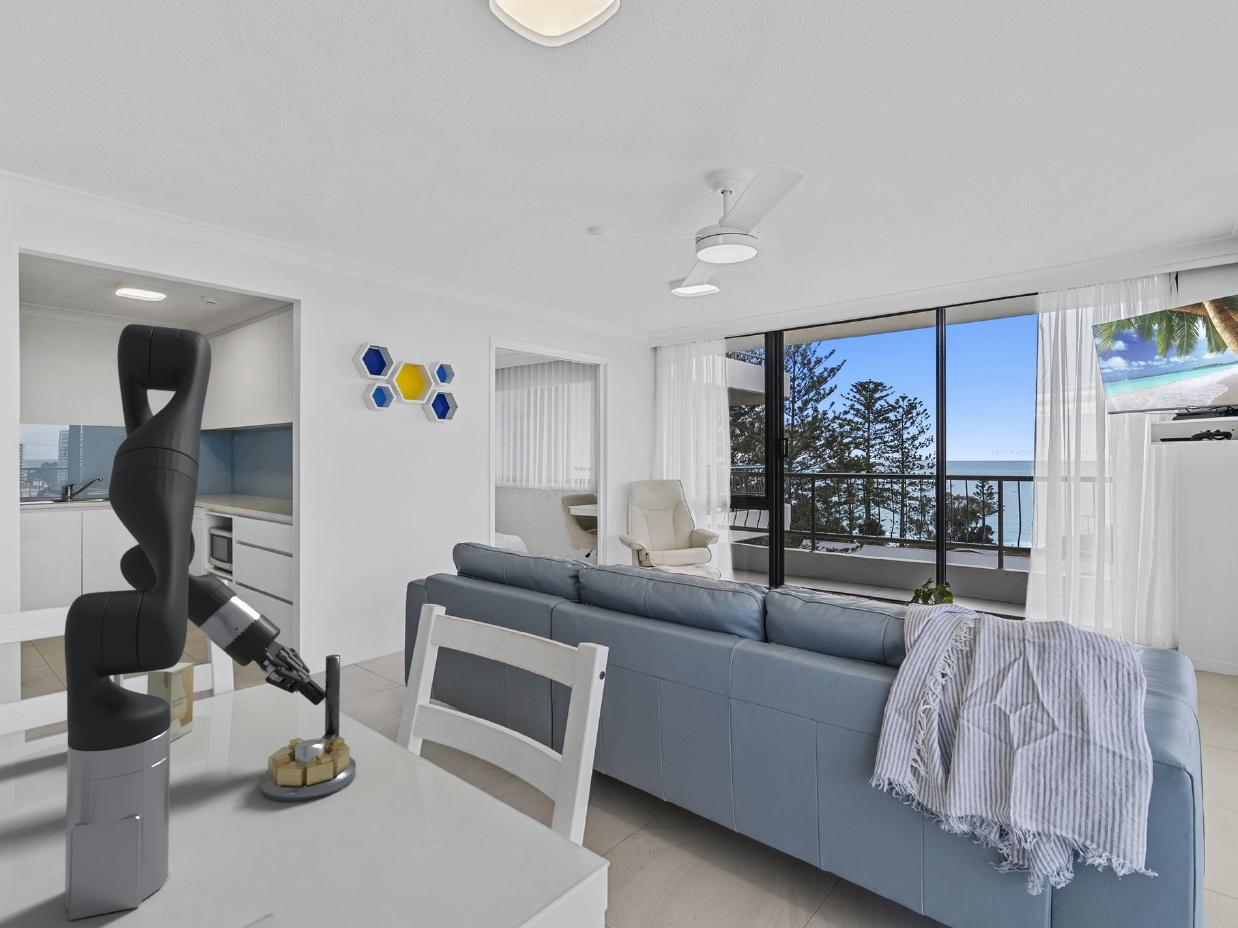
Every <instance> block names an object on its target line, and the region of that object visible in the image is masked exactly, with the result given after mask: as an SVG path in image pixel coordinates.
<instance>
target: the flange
mask: <svg viewBox="0 0 1238 928" xmlns="http://www.w3.org/2000/svg"><path fill="white" fill-rule="evenodd" d="M320 739H321V738H312V739H307V740H304V741H302V742H300V743H298V744H297V745H296V746H295V762H306V763H307V762H310V761H314V760H316V755H319V754H322V753H324V741H323V740H320ZM356 769H357V764H356V761H355V759H354V758H353V757H351V756H350V763H349V766H348V767H347V768H346V769H345V770H344V771H342V772H341V773H340V774H339V775H338V776H333V778H332V779H328V780H325V781H321V782H318V783H314V784H311V785H306V784H303V785H302V786H286V785H277V783H276V784H274V783H273V782H272V780H271V779H270V777H269V776H268V769H267V770H266V771H265V772H264V773H263V774H262V775H261V777H260V794H261V795H262V797H263V798H265V799H266V800H270V801H272V802H276V803H287V804H288V803H290V804H291V803H303V802H308V801H315V800H319V799H321V798H325V797H328V796H330V795H331V796H332V795H333V793H334V794H335V793H338V792H341V791H342V790H343V788H344V789H346V786H347V787H348V786H349V785H350V784H351V783H353V781H354V780H355V778H356V774H357V773H356V771H357V770H356Z"/></svg>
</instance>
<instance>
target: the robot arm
mask: <svg viewBox="0 0 1238 928" xmlns="http://www.w3.org/2000/svg"><path fill="white" fill-rule="evenodd" d="M118 339H119V340H118V345H117V355H116V357H117V371H118V372H117V374H118V380H119V381H118V382H119V391H120V396H121V403H122V414H123V421H124V427H125V433H126V438H125V439H124V441H123V442H121V444H120V445H119V446H118V448H117V450H116V453H115V455H114V458H113V465H112V470H111V475H110V481H109V486H108V499H109V504H110V506H111V508H112V510H113V511H114V514H115V515H116V517H117V518H118V519H119V521H120V522H121V523H122V525H123V526H124V527H125V529H126V530H127V531H128V533H130V535H131V536H132V537H133V538H134V539H135V541H136V542H137V544H136V545H134V546H132V547H131V548H129V549H128V550H126V551H125V553H124V554H122V556H121V558H120V561H119V568H120V572H121V575H122V577H123V578H124V580H125V581H126V582H127V583H128V585H130V586H131V587H132V588H133V589H128V590H127V589H125V590H124V589H123V590H114V591H113V590H112V591H110V590H109V591H98V592H97V591H96V592H88V593H84V594H81V595H78V596H77V597H76V598H75V599H74V601H73V602H72V603H71V605H70V607H69V608H68V612H67V614H66V618H65V625H64V636H63V637H64V659H65V660H64V661H65V662H64V663H65V677H66V679H65V680H66V716H67V717H66V720H67V772H66V808H65V809H66V811H65V812H66V813H65V816H66V819H65V823H66V824H65V858H64V859H65V861H64V862H65V865H64V866H65V868H64V869H65V870H64V871H65V876H64V877H65V878H64V881H65V882H64V885H65V886H64V907H65V909H66V910H67V912H68V914H67V915H68V920H69V921H71V920H77V919H83V918H87V917H93V916H97V915H103V914H108V913H112V912H118V911H125V910H129V909H134V908H138V907H139V906H141V903H142V902H143V901H144V900H145V899H146V898H148V897H150V896H151V895H153V894H154V893H155V892H156V891H158V890H159V889H160V888H162V886H163V885H164V884H165V882H166V881H167V879H168V878H169V853H170V852H169V846H170V845H169V844H170V840H169V838H170V837H169V836H170V824H169V823H170V777H171V776H170V775H171V773H170V772H171V771H170V770H171V766H170V765H171V742H170V730H171V726H170V725H171V710H170V705H169V703H168V702H167V701H166V700H164V699H162V698H160V697H157V696H152V695H147V693H141V692H137V691H133V690H131V689H130V690H129V689H127V688H125V687H124V686H123V687H121V686H119V685H117V684H115V683H114V682H113V681H112V680H111V679H110V677H109V676H111V675H121V674H123V675H129V674H137V673H148V672H149V671H157V670H163V669H168V668H171V667H173V666H175V665H176V664H177V663H180V660H181V658H182V656H183V654H184V650H185V647H186V641H187V633H188V620H189V621H190V622H191V623H193V624H194V625H195V626H196V627H198V628H199V629H200V631H201V632H203V633H204V635H205V636H206V638H208V639H209V640H210V641H211V642H212V643H214V644H215V645H216V646H217V647H218V648H219V649H221V650H222V651H223V652H224V654H226V655H227V656H229V657H230V658H231V659H232V660H234V661H235V662H236V663H237V664H238V665H239V666H241V667H246V666H248V665H249V664H251V663H252V662H253V661H254V662H255V663H256V664H257V666H259V668H260V670H261V672H262V673H264V674H265V675H266V677H265V682H266V683H267V684H270V685H272V686H274V687H275V688H278V689H280V690H283V691H285V692H288V693H290V694H294V693H300V694H301V695H302V696H303V697H304V698H306V699H307V700H308V701H309V702H311V703H312V704H313V705H314V706H319V704H320V703H321V702H322V701H324V700H325V689H323V687H321V686H320V685H319V684H318V683H317V682H315V681H314V680H313V679H312V676H311V674H310V672H311V671H310V669H309V667H308V666H307V665H306V664H305V662H304V660H303V659H302V658H301V657H300V655H299V654H298V651H296V649H295V648H294V647H293V648H292V647H290V648H288V647H287V646H285V645H281V644H280V643H278V642H277V641H275V640H276V639H277V638H278V637H279V636H280V634H281V629H280V628H279V627H278V626H277V625H276V624H275V623H274V622H273V621H272V620H270V619H269V618H268V617H267V616H265V614H263V613H262V612H261V611H260V610H258V608H257V607H255V606H254V605H253V604H251V603H250V602H249V601H248V600H246V599H244V598H243V597H242V596H240V595H239V594H237V593H236V592H235V591H234V590H233V589H231V588H230V587H229V586H228V585H227V583H225V582H224V581H223V580H221V579H220V578H219V577H217V576H216V575H214V574H212V573H211V574H210V573H206V574H201V575H193V574H191V573H189V572H190V570H189V569H190V565H191V563H192V562H193V559H194V557H195V556H194V555H195V550H196V541H195V536H194V534H193V533H194V532H193V529H192V528H193V527H192V526H193V521H194V512H195V506H196V505H195V504H196V498H197V493H198V492H197V491H198V482H199V473H200V471H199V470H200V469H199V468H200V450H201V430H202V429H201V428H202V422H203V421H202V420H203V414H204V409H205V404H206V403H205V402H206V398H207V391H208V387H209V381H210V376H211V375H210V374H211V370H212V369H211V368H212V349H211V343H210V341H209V340H208V338H207V336H205V335H204V334H203V333H201V332H199V331H195V330H190V329H186V328H185V329H184V328H176V327H167V326H158V325H156V326H155V325H150V324H149V325H148V324H139V323H137V324H136V323H130V324H127V325H126V326H125V327H124V328H123V329H122V331H121V332H120V336H119V338H118ZM149 390H150V391H151V390H152V391H153V390H154V391H163V392H173V393H174V394H173V396H172V397H171V399H169V401H168V403H167V404H165V406H164V407H162V408H161V409H160V410H159V411H158V412H157V413H156V414H153V412H152V409H151V406H150V402H149V396H148V391H149Z"/></svg>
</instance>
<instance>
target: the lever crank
mask: <svg viewBox="0 0 1238 928" xmlns="http://www.w3.org/2000/svg"><path fill="white" fill-rule="evenodd" d="M324 682H325V683H324V684H325V686H324V687H325V689H324V690H325V698H324V700H325V701H324V735H322V736H321V738H319V739H320V740H323V741H324V753H322V754H319V755H316V760H314V761H310V762H307V763H306V762H295V746H296V745H297V744H298V743H300V742H302V741H305V740H304V739H302V738H300V737H296V738H294V739H293V738H292V739H290V740H289V744H288V745H287V746H282V747H281V748H280V749H278V750H276V751H275V752H273V753H272V754H271V755H269V756H268V760H267V770H268V776H269V777H270V779H271V780H272V782H273V783H274V784H276V783H277V785H286V786H302V785H303V784H306V785H311V784H314V783H318V782H321V781H325V780H328V779H332V778H333V776H338V775H339V774H340V773H341V772H342V771H344V770H345V769H346V768H347V767H348V766H349V763H350V757H351V754H350V752H351V751H350V750H351V748H350V746H349V745H348V744H346V743H345V738H343V737H342V736H340V714H341V713H340V704H341V703H340V701H341V699H340V697H341V695H340V694H341V693H340V692H341V655H340V654H330V655H327V656H325V681H324Z"/></svg>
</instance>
